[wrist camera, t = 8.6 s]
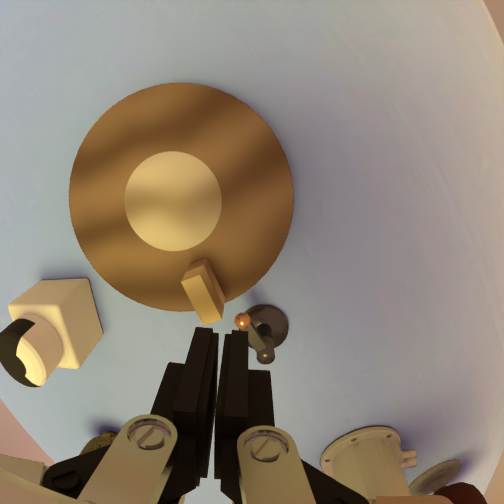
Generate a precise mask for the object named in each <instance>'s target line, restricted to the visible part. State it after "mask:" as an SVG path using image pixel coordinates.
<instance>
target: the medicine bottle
mask: <svg viewBox="0 0 504 504" xmlns="http://www.w3.org/2000/svg"><path fill="white" fill-rule="evenodd" d="M8 309H9V312H10V315H11V317H12V320H13V322H12V323H11V324H10V325H9V326H8V327H7V328H5V329H4V330H3V331H2V332H1V333H0V362H1V364H2V365H3V367H4V368H5V370H6V371H7V372H8V373H9V374H10V375H11V376H12V377H13V378H14V379H15V380H16V381H18V382H19V383H21V384H23V385H25V386H28V387H40V386H42V385H43V384H44V383H45V381H46V380H47V379H48V377H49V376H50V375H51V373H52V372H53V371H54V370H55V368H56V367H62V368H72V369H79V368H80V367H81V365H82V364H83V362H84V361H85V359H86V358H87V356H88V355H89V354H90V352H91V351H92V349H93V348H94V347H95V345H96V344H97V342H98V341H99V340H100V338H101V337H102V335H103V332H102V328H101V325H100V321H99V318H98V314H97V311H96V307H95V303H94V299H93V295H92V292H91V287H90V283H89V280H88V279H87V278H81V279H61V280H42V281H40V282H38V283H37V284H35V285H34V286H33V287H31V288H30V289H29V290H27V291H26V292H24V293H23V294H22V295H20V296H19V297H18V298H16V299H15V300H14V301H12V302H11V303H10V304H9V305H8Z"/></svg>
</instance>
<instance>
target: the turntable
mask: <svg viewBox="0 0 504 504" xmlns="http://www.w3.org/2000/svg"><path fill="white" fill-rule="evenodd" d="M69 207H70V215H71V221H72V224H73V228H74V232H75V235H76V237H77V240H78V242H79V245H80V247H81V249H82V251H83V252H84V254H85V256H86V258H87V259H88V261H89V262H90V264H91V265H92V266H93V268H94V269H95V270H96V271H97V272H98V274H99V275H100V276H101V277H102V278H103V279H104V280H105V281H106V282H107V283H109V284H110V285H111V286H112V287H113V288H114V289H116V290H117V291H119V292H120V293H122V294H123V295H125V296H126V297H128V298H130V299H132V300H134V301H136V302H138V303H141V304H144V305H146V306H149V307H153V308H157V309H161V310H167V311H177V312H182V311H196V313H197V315H198V316H199V318H200V320H201V322H202V324H203V326H204V325H207V324H210V323H213V322H215V321H218V320H221V319H222V315H223V309H224V303H226V302H228V301H231V300H233V299H234V298H236V297H238V296H239V295H241V294H243V293H244V292H246V291H247V290H248V289H250V288H251V287H252V286H253V285H255V284H256V283H257V282H258V281H259V280H260V279H261V278H262V277H263V276H264V275H265V274H266V273H267V271H268V270H269V269H270V267H271V266H272V265H273V263H274V262H275V260H276V259H277V257H278V255H279V253H280V251H281V250H282V248H283V245H284V243H285V240H286V238H287V235H288V232H289V228H290V224H291V220H292V212H293V184H292V178H291V172H290V168H289V165H288V162H287V159H286V156H285V154H284V151H283V149H282V147H281V145H280V143H279V141H278V139H277V138H276V136H275V135H274V133H273V132H272V130H271V129H270V127H269V126H268V125H267V124H266V123H265V122H264V120H263V119H262V118H261V117H260V116H259V115H258V114H257V113H256V112H255V111H253V110H252V109H251V108H250V107H249V106H247V105H246V104H245V103H243V102H241V101H240V100H238V99H237V98H235V97H234V96H232V95H229V94H227V93H225V92H223V91H220V90H218V89H215V88H211V87H208V86H204V85H198V84H191V83H170V84H163V85H156V86H153V87H150V88H146V89H143V90H140V91H138V92H136V93H134V94H132V95H129V96H127V97H126V98H124V99H123V100H121V101H119V102H118V103H116V104H115V105H114V106H112V107H111V108H110V109H109V110H108V111H106V112H105V113H104V114H103V115H102V116H101V117H100V118H99V120H98V121H97V122H96V123H95V124H94V125H93V127H92V128H91V129H90V131H89V132H88V134H87V135H86V137H85V139H84V140H83V142H82V144H81V146H80V148H79V150H78V153H77V156H76V158H75V161H74V164H73V168H72V173H71V177H70V186H69Z"/></svg>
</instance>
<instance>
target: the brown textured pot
mask: <svg viewBox="0 0 504 504" xmlns="http://www.w3.org/2000/svg"><path fill="white" fill-rule="evenodd" d="M117 435H118V434H117V433H114V432H111V431H107V432H104V433H103V434H102V435H101V436H99V437H95V438H93V439H91V440H90V441H89V442H88V443H87V444H86V446H85V447H84V449H83V450H82V452H81V453H80V455H82V454H85V453H87V452H90V451H93V450H96V449H98V448H101V447H104V446H106V445H109V444H111V443H113V441H114V440H115V438H116V437H117Z"/></svg>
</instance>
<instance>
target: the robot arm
mask: <svg viewBox="0 0 504 504" xmlns="http://www.w3.org/2000/svg"><path fill="white" fill-rule="evenodd" d="M218 342H219V333H213V328H203V327H196V328H195V332H194V335H193V338H192V342H191V345H190V349H189V352H188V355H187V359H186V362H185V364H181V363H173V362H169V363H168V365H167V368H166V371H165V373H164V376H163V379H162V382H161V384H160V387H159V390H158V393H157V396H156V399H155V401H154V404H153V407H152V410H151V413H150V414H149V415H140V416H137V417H134V418H132V419H130V420H129V421H127V423H126V424H125V425H124V426H123V427H122V429H121V430H120V432H119V434H118V435H117V437H116V438H115V440H114V441H113V443H111V444H109V445H106V446H104V447H101V448H98V449H96V450H93V451H90V452H87V453H85V454H82V455H79V456H76V457H73V458H70V459H67V460H64V461H61V462H58V463H56V464H54V465H52V466H50V467H49V466H46V465H45V464H44V463H43V462H37V461H32V460H27V459H21V458H17V457H12V456H8V455H3V454H0V504H183V503H184V500H185V494H186V493H188V492H190V491H192V490H193V489H195V488H196V486H199V484H200V477H202V478H207V474H208V466H209V458H210V449H211V441H212V433H213V424H214V416H215V442H214V479H221V490H220V491H222V492H223V493H224V494H225V495H226V496H227V497H229V498H230V499H231V500H232V504H453V503H452V502H451V501H450V500H449V499H448V498H446V497H444V496H440V495H426V496H412V494H411V491H410V489H409V486H408V484H407V481H406V479H405V476H404V474H403V471H402V469H404V468H405V469H406V468H411V467H415V466H416V465H417V458H416V457H415V456H416V450H415V449H413V450H407V451H404V452H403V451H402V450H400V447H401V440H400V437H399V435H398V433H397V432H396V431H395V430H393V429H391V428H388V427H368V428H364V429H360V430H357V431H354V432H351V433H349V434H347V435H345V436H343V437H341V438H339V439H338V440H336V441H335V442H334V443H332V444H331V445H330V446H329V447H328V448H327V449H326V450H325V451H324V453H323V455H322V457H321V468H322V470H323V472H324V473H325V474H324V473H323V472H321V471H319V470H318V469H316V468H314V467H313V466H311V465H310V464H308V463H306V462H305V461H303V460H302V459H300V456H299V453H298V450H297V447H296V444H295V442H294V440H293V439H292V437H291V436H290V435H289V434H288V433H287V432H285V431H283V430H282V429H280V428H277V427H275V423H274V411H273V399H272V387H271V375H270V371H267V370H248V331H239V330H232V334H225V340H224V347H223V355H222V362H221V370H220V378H219V386H218V394H217V371H218ZM216 399H217V402H216ZM215 408H216V410H215ZM329 476H330V477H329ZM331 477H333V478H335V480H334V479H333V478H331Z"/></svg>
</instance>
